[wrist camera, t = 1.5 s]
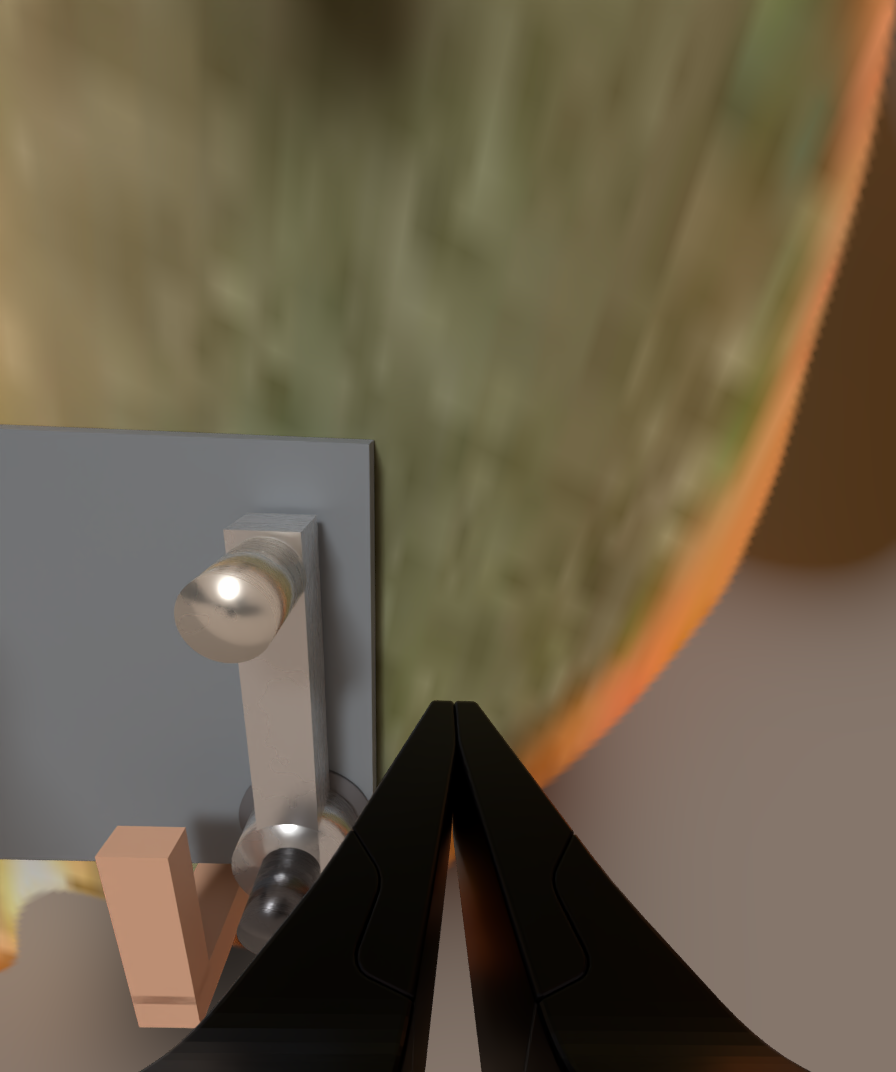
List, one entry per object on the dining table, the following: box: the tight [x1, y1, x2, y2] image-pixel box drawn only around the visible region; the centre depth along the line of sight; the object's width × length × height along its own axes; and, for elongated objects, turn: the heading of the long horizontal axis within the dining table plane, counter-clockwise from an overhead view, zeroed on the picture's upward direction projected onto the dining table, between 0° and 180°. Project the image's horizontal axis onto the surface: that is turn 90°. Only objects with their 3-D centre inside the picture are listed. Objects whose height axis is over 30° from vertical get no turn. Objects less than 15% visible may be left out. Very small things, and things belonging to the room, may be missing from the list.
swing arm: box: [174, 512, 357, 954], centre depth 17 cm, size 17×5×5 cm, turn 178°
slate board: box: [0, 425, 376, 864], centre depth 20 cm, size 18×20×1 cm
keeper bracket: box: [95, 826, 249, 1028], centre depth 20 cm, size 2×10×6 cm, turn 178°
